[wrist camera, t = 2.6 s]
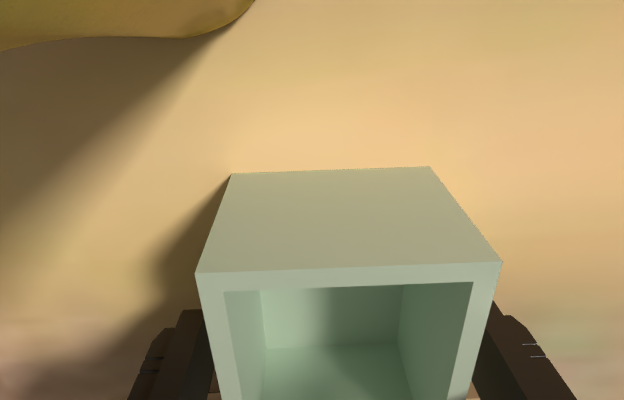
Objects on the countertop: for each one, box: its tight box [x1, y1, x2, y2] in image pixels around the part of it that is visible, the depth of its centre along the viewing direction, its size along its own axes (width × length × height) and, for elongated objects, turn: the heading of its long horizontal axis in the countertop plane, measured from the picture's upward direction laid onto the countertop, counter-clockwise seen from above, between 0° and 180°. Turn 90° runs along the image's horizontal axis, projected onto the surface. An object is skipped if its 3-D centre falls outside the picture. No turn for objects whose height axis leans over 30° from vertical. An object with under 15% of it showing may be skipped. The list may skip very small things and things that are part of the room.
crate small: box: [194, 166, 503, 400], centre depth 12 cm, size 8×6×5 cm
